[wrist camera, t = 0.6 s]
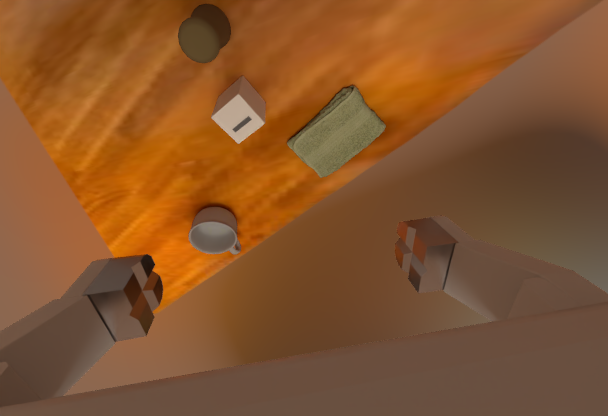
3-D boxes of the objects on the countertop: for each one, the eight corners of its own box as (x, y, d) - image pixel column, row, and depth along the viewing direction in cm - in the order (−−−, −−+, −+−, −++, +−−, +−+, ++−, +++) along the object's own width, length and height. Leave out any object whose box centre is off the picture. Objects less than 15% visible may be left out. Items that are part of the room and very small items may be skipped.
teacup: (186, 209, 67) (177, 233, 61) (223, 193, 65) (219, 217, 59) (219, 242, 76) (215, 265, 70) (253, 229, 74) (252, 252, 68)
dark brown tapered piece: (190, 43, 44) (172, 62, 36) (190, -3, 40) (170, 7, 32) (228, 54, 45) (220, 74, 37) (232, 11, 42) (223, 23, 33)
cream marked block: (242, 75, 48) (238, 94, 41) (265, 102, 51) (265, 123, 45) (218, 96, 50) (210, 118, 43) (241, 121, 53) (237, 144, 47)
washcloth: (283, 141, 58) (284, 149, 55) (350, 78, 50) (353, 84, 48) (323, 175, 65) (325, 184, 62) (386, 125, 57) (391, 132, 55)
